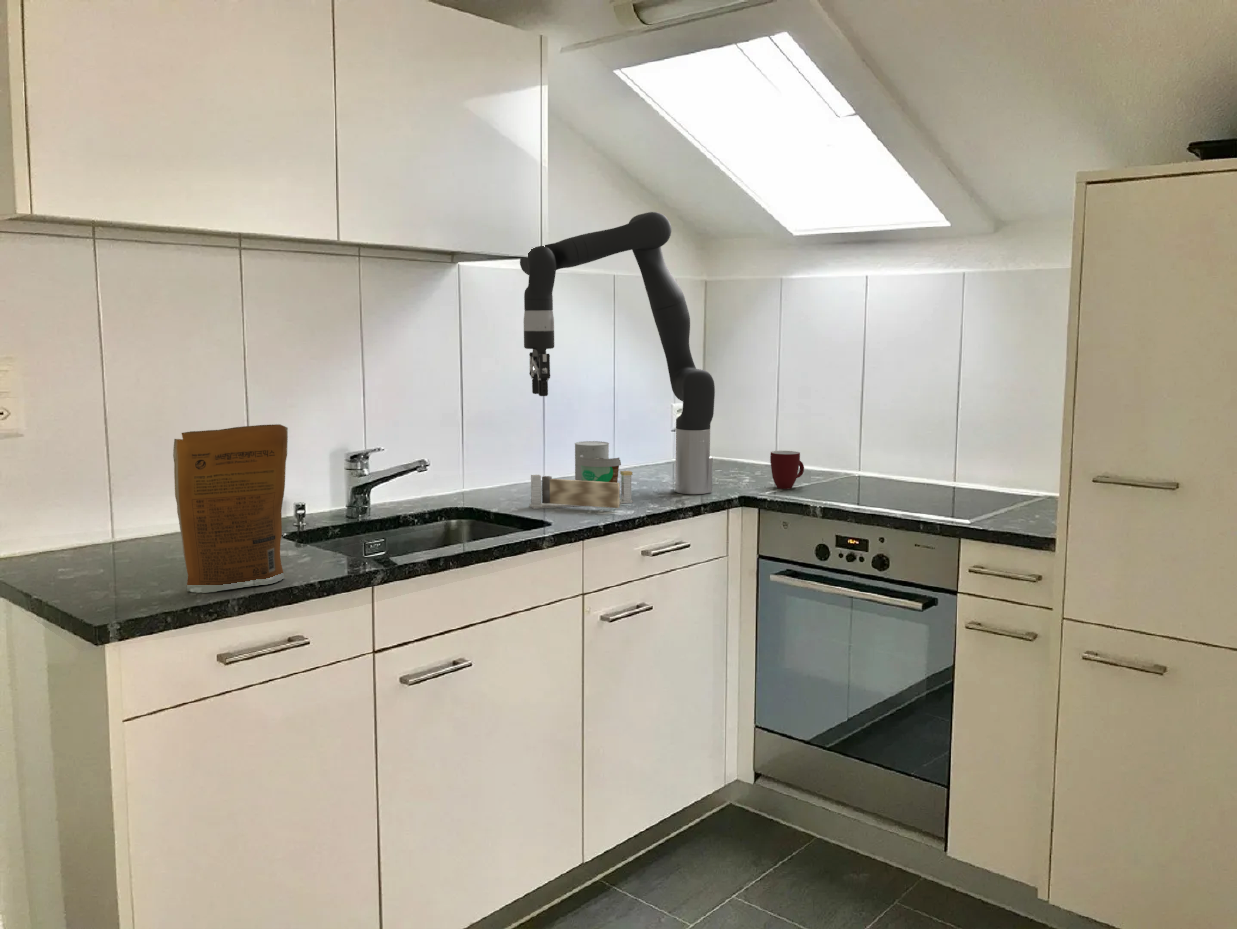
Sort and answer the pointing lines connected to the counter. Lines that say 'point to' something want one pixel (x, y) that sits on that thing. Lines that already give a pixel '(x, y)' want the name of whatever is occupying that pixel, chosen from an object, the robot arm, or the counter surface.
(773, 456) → the mug
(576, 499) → the gate
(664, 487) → the counter surface
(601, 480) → the food container
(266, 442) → the pancake mix bag
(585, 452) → the grey cylindrical canister
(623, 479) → the gate frame
